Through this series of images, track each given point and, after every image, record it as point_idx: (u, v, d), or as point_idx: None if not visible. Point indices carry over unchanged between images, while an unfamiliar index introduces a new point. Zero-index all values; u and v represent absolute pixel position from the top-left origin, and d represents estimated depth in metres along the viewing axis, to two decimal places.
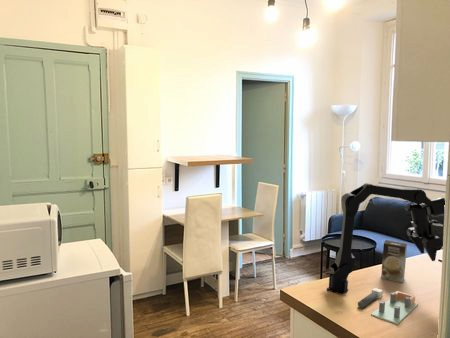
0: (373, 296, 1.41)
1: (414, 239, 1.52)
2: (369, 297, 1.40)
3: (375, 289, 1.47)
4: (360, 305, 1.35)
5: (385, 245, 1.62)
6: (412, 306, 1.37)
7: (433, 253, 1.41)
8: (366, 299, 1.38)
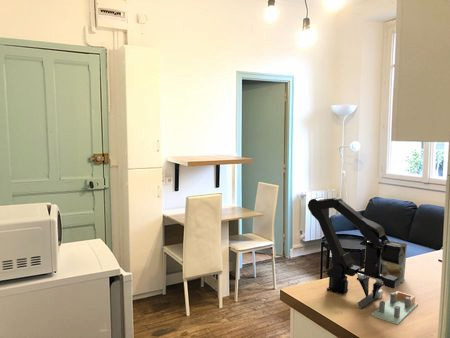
0: None
1: (364, 282, 1.41)
2: (369, 297, 1.40)
3: None
4: (360, 305, 1.35)
5: None
6: (412, 306, 1.37)
7: (377, 291, 1.40)
8: (366, 299, 1.38)
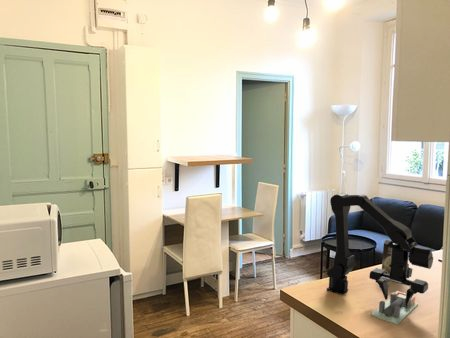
0: (399, 303, 1.35)
1: (384, 284, 1.36)
2: (395, 304, 1.33)
3: (400, 295, 1.40)
4: (387, 313, 1.28)
5: None
6: (412, 306, 1.37)
7: (410, 298, 1.31)
8: (392, 306, 1.31)
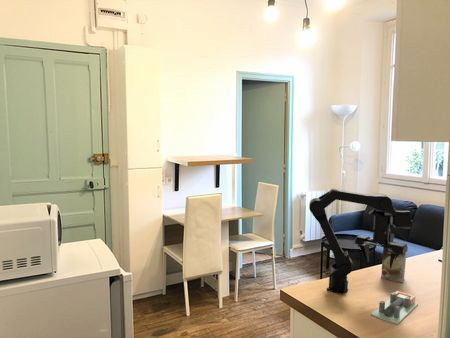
0: (399, 303, 1.35)
1: (365, 248, 1.48)
2: (395, 304, 1.33)
3: (400, 295, 1.40)
4: (387, 313, 1.28)
5: None
6: (412, 306, 1.37)
7: (394, 260, 1.42)
8: (392, 306, 1.31)
